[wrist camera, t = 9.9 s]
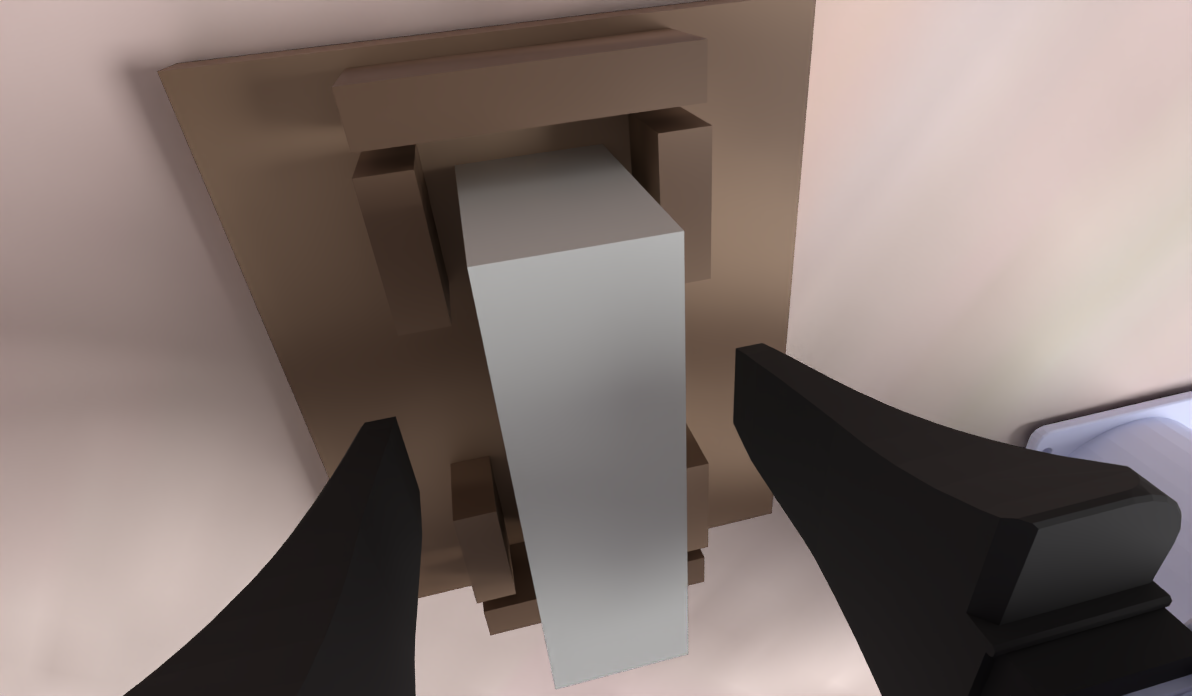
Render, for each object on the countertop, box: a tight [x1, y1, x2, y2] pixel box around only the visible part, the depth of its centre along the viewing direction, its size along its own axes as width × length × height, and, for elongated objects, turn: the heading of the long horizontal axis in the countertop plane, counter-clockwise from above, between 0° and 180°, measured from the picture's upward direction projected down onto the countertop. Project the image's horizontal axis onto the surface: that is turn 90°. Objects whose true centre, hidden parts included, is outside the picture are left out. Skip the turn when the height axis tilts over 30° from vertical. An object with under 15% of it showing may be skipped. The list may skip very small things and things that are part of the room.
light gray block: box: [454, 144, 688, 689], centre depth 13 cm, size 10×3×5 cm, turn 5°
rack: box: [158, 0, 816, 635], centre depth 15 cm, size 14×12×3 cm
